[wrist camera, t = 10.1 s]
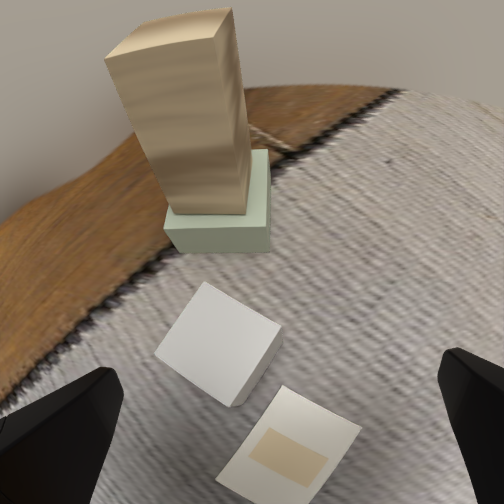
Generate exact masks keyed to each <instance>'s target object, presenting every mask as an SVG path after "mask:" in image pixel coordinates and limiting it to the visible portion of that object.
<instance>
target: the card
mask: <svg viewBox="0 0 504 504" xmlns="http://www.w3.org/2000/svg"><path fill="white" fill-rule="evenodd" d="M361 428H362V427H361V426H359V425H357V424H354V423H352V422H350V421H348V420H346V419H344V418H342V417H340V416H338V415H336V414H334V413H333V412H331V411H329V410H327V409H325V408H323V407H321V406H319V405H317V404H315V403H314V402H312V401H310V400H308V399H306V398H304V397H303V396H301V395H299V394H297V393H295V392H294V391H292V390H290V389H288V388H287V387H285V386H283V385H282V387H281V388H280V390H279V391H278V393H277V394H276V396H275V397H274V399H273V400H272V402H271V403H270V405H269V406H268V408H267V409H266V411H265V412H264V414H263V415H262V417H261V418H260V420H259V421H258V422H257V424H256V425H255V427H254V428H253V430H252V431H251V432H250V434H249V435H248V437H247V438H246V439H245V441H244V442H243V443H242V445H241V446H240V448H239V449H238V450H237V452H236V453H235V454H234V456H233V457H232V458H231V460H230V461H229V462H228V463H227V465H226V466H225V467H224V469H223V470H222V471H221V472H220V474H219V475H218V476H217V478H216V479H215V480H216V481H218V482H219V483H221V484H222V485H224V486H226V487H227V488H229V489H231V490H232V491H234V492H236V493H237V494H239V495H241V496H243V497H244V498H246V499H248V500H250V501H252V502H254V503H255V504H309V502H310V501H311V500H312V499H313V497H314V496H315V495H316V494H317V492H318V491H319V490H320V488H321V487H322V486H323V484H324V483H325V482H326V480H327V479H328V478H329V476H330V475H331V474H332V472H333V471H334V469H335V468H336V467H337V465H338V464H339V462H340V461H341V459H342V458H343V456H344V455H345V453H346V452H347V450H348V449H349V447H350V446H351V444H352V443H353V441H354V440H355V438H356V436H357V435H358V433H359V431H360V430H361Z"/></svg>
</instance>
